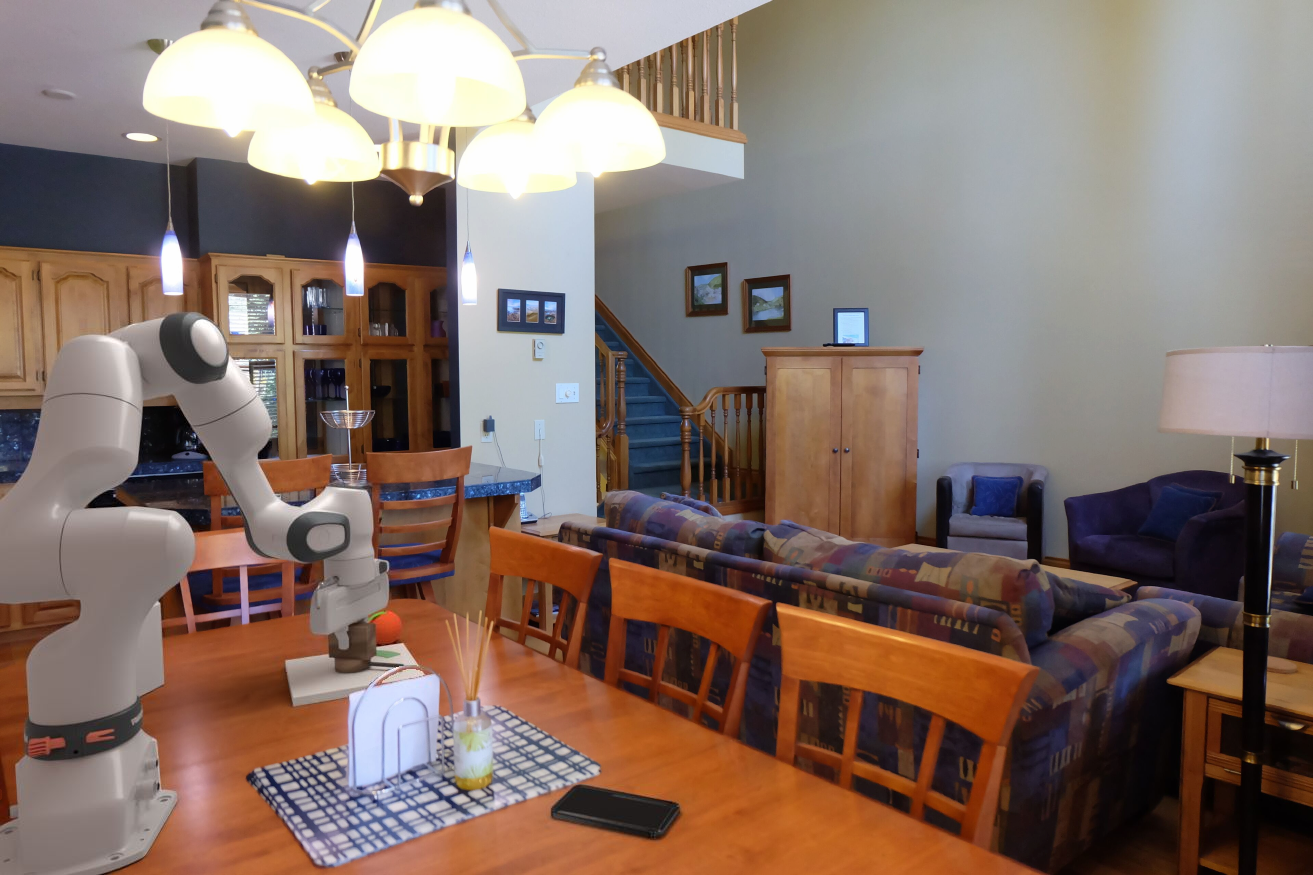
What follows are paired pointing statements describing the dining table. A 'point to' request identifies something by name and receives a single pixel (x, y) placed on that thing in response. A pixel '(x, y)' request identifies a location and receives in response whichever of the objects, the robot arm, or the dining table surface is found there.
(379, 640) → the clementine
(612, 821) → the phone
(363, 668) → the tuning knob
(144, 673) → the milk carton
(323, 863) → the dining table surface
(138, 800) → the robot arm
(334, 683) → the dial plate
